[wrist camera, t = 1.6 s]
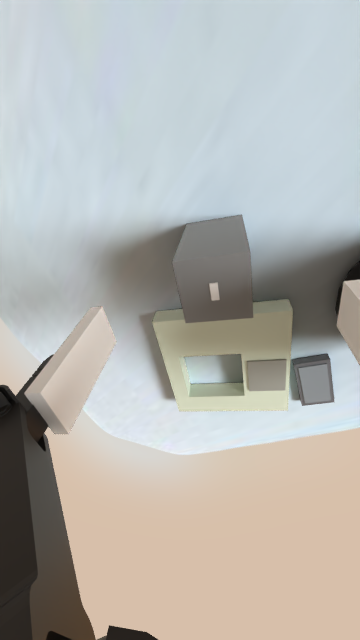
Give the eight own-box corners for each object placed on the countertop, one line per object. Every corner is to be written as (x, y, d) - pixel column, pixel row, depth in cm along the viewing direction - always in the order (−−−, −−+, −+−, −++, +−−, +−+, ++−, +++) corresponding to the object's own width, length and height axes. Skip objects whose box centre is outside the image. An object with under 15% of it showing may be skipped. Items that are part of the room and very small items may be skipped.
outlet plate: (156, 311, 28) (151, 323, 26) (288, 298, 25) (293, 311, 23) (181, 398, 35) (179, 412, 34) (284, 396, 33) (288, 411, 31)
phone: (292, 359, 29) (294, 365, 28) (327, 353, 28) (330, 359, 27) (300, 400, 33) (302, 406, 32) (332, 396, 32) (334, 402, 31)
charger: (186, 223, 22) (171, 262, 16) (242, 214, 21) (250, 252, 15) (195, 272, 25) (185, 324, 18) (245, 266, 24) (253, 318, 17)
